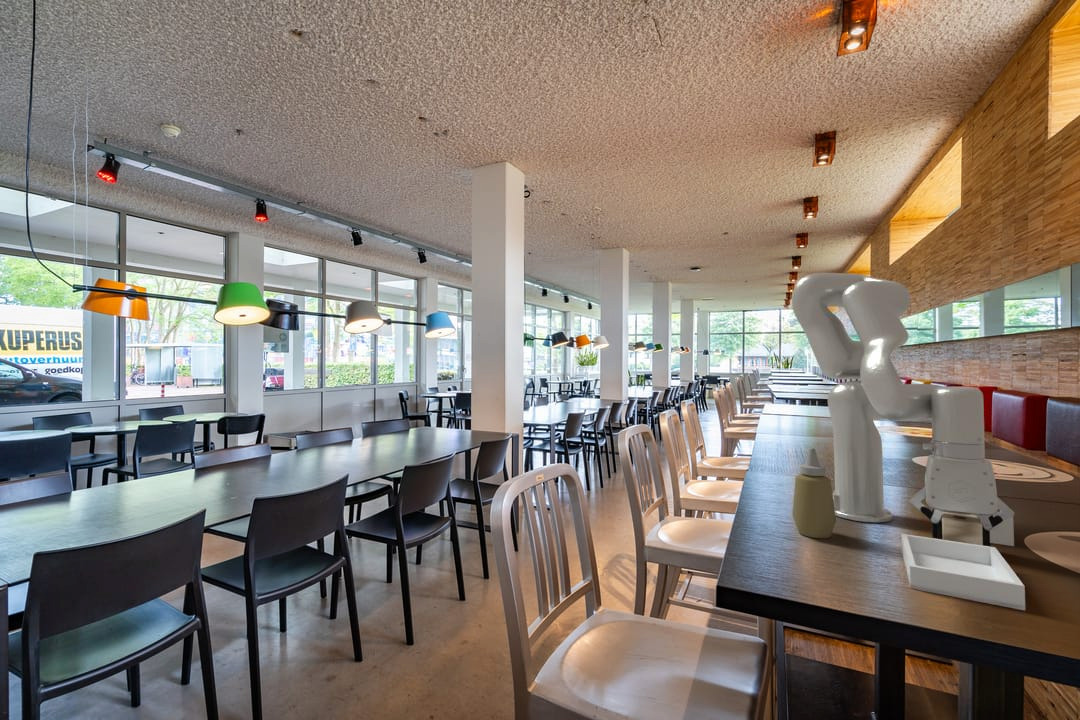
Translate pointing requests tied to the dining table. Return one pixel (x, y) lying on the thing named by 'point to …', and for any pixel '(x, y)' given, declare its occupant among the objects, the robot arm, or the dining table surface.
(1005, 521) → the grey block
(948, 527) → the ash block
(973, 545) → the tray
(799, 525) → the squeeze bottle
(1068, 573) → the dining table surface
